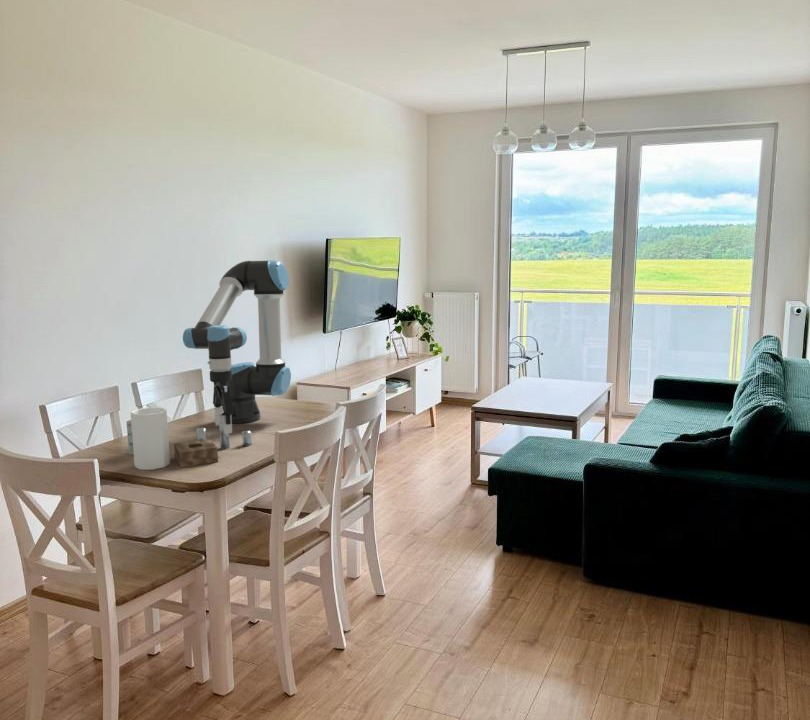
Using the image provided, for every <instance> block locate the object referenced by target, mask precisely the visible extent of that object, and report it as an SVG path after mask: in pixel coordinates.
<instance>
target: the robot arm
mask: <svg viewBox="0 0 810 720" xmlns="http://www.w3.org/2000/svg"><path fill="white" fill-rule="evenodd" d="M288 287H289V272H288V271H287V268H286V266H285V264H284V263H283V262H282V261H279V260H272V259H271V260H245V261H241V262H239V263H237V264H235V265H234V266H232V267H231V268H230V269H228V270H227V271H226V272H225V273H224V275H223V276H222V278H221V279H220V280H219V287H218V289H217V291H216V293H215V294H214V295H213V297H212V299H211V300H210V302H209V304H208V305H207V307H206V309H205V310H204V312H203V314H202V315H201V317H200V318H199V320H198V322H197V323H196V324H195V326H194V327H189V328H188V327H187V328H185V329H184V331H183V334H182V342H183V344H184V346H185V347H186V348H187V349H193V350H194V349H195V350H196V349H197V350H200V349H202V350H208V361H207V365H208V366H209V370H210V371H209V381H210V382H211V383H213V393H212V394H213V396H212V397H213V398H212V404H213V407H214V419H215V420H214V421H215V423H214V424H215V426H219V415H220V414H222V416H223V424H224V434H227V433H229V434H232V433H233V424H244V423H245V424H246V423H247V424H248V423H251V422H257V421H259V420H260V419H261V411H260V409H259V408H260V407H259V406H258V403H257V401H256V396H272V397H274V396H275V397H276V396H283V395H285V394H286V393H287V392H288V390H289V388H290V384H291V380H292V373H291V369H290V368H289V366H286V360H284V359H283V358H282V344H281V343H282V340H281V339H282V338H281V336H282V335H281V334H282V333H281V298H282V297H283V296H284V291H285V290H288ZM245 291H253V296H255V298H257V306H258V307H257V313H258V342H259V343H258V345H259V358H258V360H257V361H256V363H255V364H254V362H252V361H246V362H239V363H235V364H232V355H231V351H233V350H236V349H237V350H238V349H239V348H242V347H243V346H245V344H246V342H247V338H248V337H247V333H246V330H244V329H242V328H241V327H239V326H238V327H230V328H229V326H228V325H224V324H222V323H223V321H224V319H225V317H226V316H227V314H228V312H230V309H231V307H232V306H233V304H234V302H235V300H236V299H237V298H238V297H240V296H241V295H242V294H243V292H245Z"/></svg>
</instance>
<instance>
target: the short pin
mask: <svg viewBox="0 0 810 720" xmlns="http://www.w3.org/2000/svg"><path fill="white" fill-rule="evenodd" d="M241 433H242V436H241V437H242V446H243V447H250V446H252V445H253V442H252V441H253V440H252V437H253V436H252V430H250V429H247V430H242V431H241Z"/></svg>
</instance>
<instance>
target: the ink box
mask: <svg viewBox="0 0 810 720" xmlns="http://www.w3.org/2000/svg"><path fill="white" fill-rule="evenodd" d="M126 431H127V433H126V434H127V446H128V454H130V455H134V451H133V438H132V426H131V419H130V420H127V421H126Z"/></svg>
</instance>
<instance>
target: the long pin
mask: <svg viewBox="0 0 810 720" xmlns="http://www.w3.org/2000/svg"><path fill="white" fill-rule="evenodd" d="M218 427H219V441H220V443H219V444H220V445H219V446H220V449H221V450H228V449H230V448H231V447H230V445H231V444H230V433H227V434H224V424H223V416H222V414H220V415H219V425H218Z"/></svg>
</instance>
